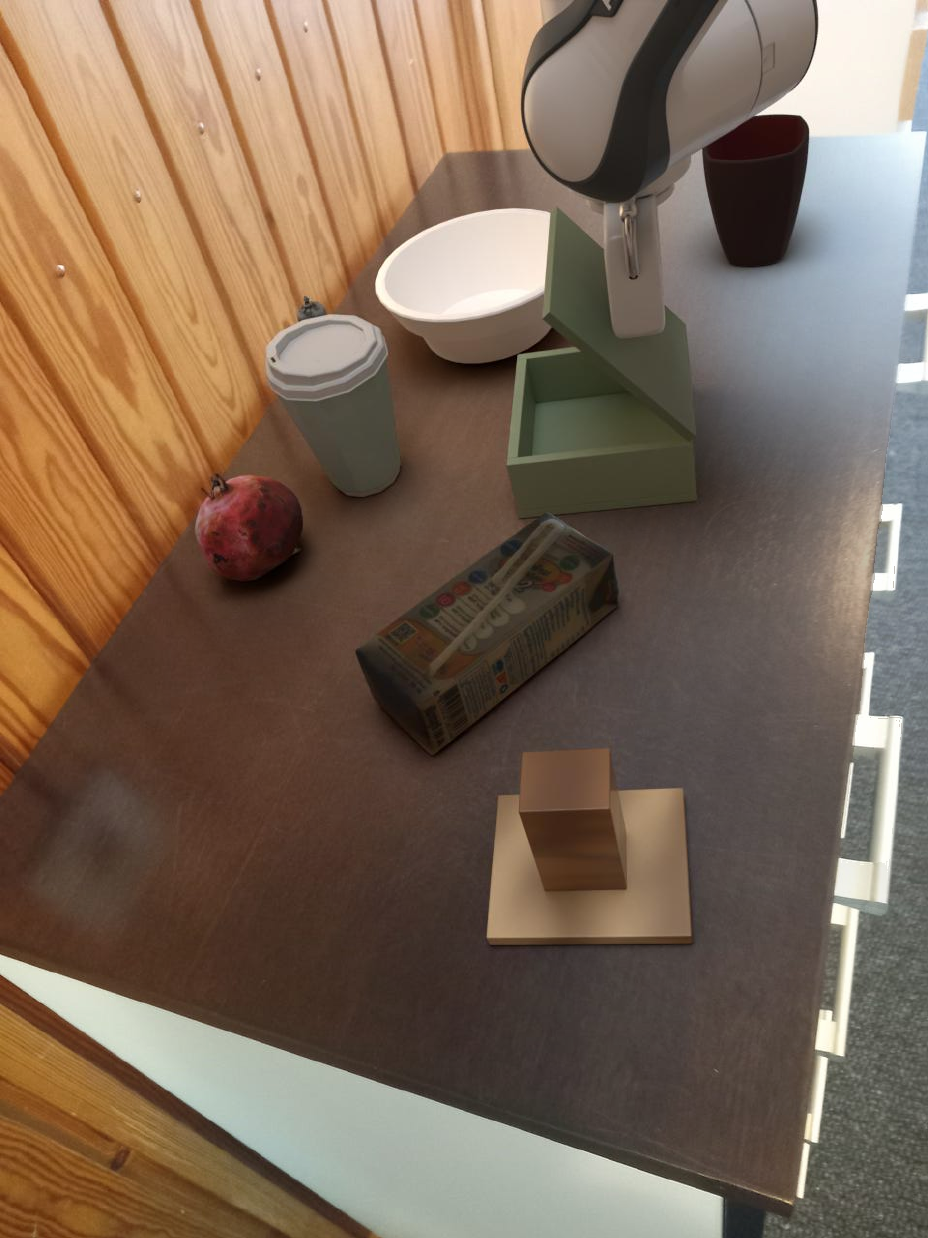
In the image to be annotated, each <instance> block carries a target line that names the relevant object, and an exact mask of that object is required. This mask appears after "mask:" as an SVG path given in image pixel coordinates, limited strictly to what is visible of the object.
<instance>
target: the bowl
mask: <svg viewBox="0 0 928 1238" xmlns="http://www.w3.org/2000/svg"><path fill="white" fill-rule="evenodd" d="M550 213H551V212H548V211H545V210H540V209H534V208H517V207H513V208H512V207H510V208H509V207H508V208H495V209H490V210H482V211H477V212H473V213H468V214H465V215H461V216H457V217H453V218H452V219H448V220H445V221H442V222H440V223H438V224H436V225H434V226H431V227H429V228H426V229H424V230H423V231H421V232H419V233H418V234H415V235H414V236H412V237H410V238H409V239H407V240H406V241H405V242H403V243H402V244H401V245H399V247H397V248H396V249H394V250H393V252H392V253H391V254H389V256H388V257H387V258H385V260H384V262H383V263H382V265H381V266H380V268H379V270H378V272H377V275H376V279H375V285H374V286H375V295H376V296H377V298H378V300H379V303H380V304H381V305H382V306H383V307H384V308H385V309H386V310H387V311H388V312H389V313H390V314H391V316H393V318H394V319H395V320H396V321H397V322H398V323H399V324H401V325H402V327H404V329H406V331H408V332H410V333H412V334H414V335H416V336H418V337H421V338H422V339H423V340H424V341H425V343H426V344H427V345H428V347H429V348H430V350H431V351H432V352H434V354H436V356H439V358H442V359H444V360H446V361H450V362H454V363H461V364H484V363H491V362H497V361H500V360H504V359H507V358H511V357H512V356H515V355H519V354H521V353H522V352H524V351H526V350H529V349H530V348H531V347H533V346H534V345H536V344H537V343H539V342H540V341H541V340H542V339H544V338H545V336H547V335H548V333H549V332H550V330H551V329H553V328H552V327H551V326H550V325H549V324H548V323H547V322H545V321H544V320H543V319H542V316H543V303H544V290H545V277H546V264H547V251H548V238H549V225H550Z"/></svg>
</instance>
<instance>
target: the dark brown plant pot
mask: <svg viewBox="0 0 928 1238" xmlns="http://www.w3.org/2000/svg"><path fill="white" fill-rule="evenodd" d="M809 144H810V127H809V124H808V121H806V120H805V118H804V117H803V116H802V115H800V114H786V113H785V114H783V113H779V114H778V113H777V114H775V113H773V114H757V115H755V116H754V117H752V118H750V119H749V120H747V121H745V122H744V123H742V124H740V125H739V126H738V127H736V128H735V129H734V130H732V131H730V132H729V133H727V134H725V135H724V136H722V137H721V138H719V139H717V140H716V141H714V142H712V143H711V144H709V145H707V146H706V147H704V148H702V149H701V153H702V154H701V155H702V166H703V175H704V182H705V187H706V192H707V197H708V202H709V206H710V210H711V211H710V212H711V214H712V215H711V216H712V218H713V222H714V226H715V230H716V232H717V233H716V234H717V236H718V239H719V242H720V245H721V248H722V250H723V253H724V255H725V258H726V260H727V261H728V263H729V264H730V265H732V266H738V267H759V266H766V265H771V264H776V263H779V262H780V261H781V260H782V259H783V258H784V256H785V255H786V253H787V250H788V247H789V244H790V242H791V238H792V235H793V232H794V229H795V226H796V222H797V217H798V214H799V208H800V205H801V201H802V196H803V195H802V194H803V190H804V185H805V179H806V174H807V166H808V161H809V149H810V148H809V147H810V145H809Z"/></svg>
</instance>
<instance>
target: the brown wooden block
mask: <svg viewBox="0 0 928 1238" xmlns="http://www.w3.org/2000/svg"><path fill="white" fill-rule="evenodd" d="M611 751H612V750H611V748H609V747H604V748H603V747H601V748H584V749H583V748H581V749H561V750H539V751H523V752H522V754H521V768H520V783H519V794H520V796H519V815H520V818H521V821H522V824H523V827H524V830H525V833H526V836H527V839H528V842H529V845H530V848H531V851H532V854H533V857H534V860H535V863H536V866H537V869H538V872H539V875H540V878H541V882H542V885H543V888H544V890H545V891H565V890H617V889H627V850H626V828H625V823H624V818H623V813H622V807H621V802H620V797H619V792H618V791H619V787H618V783H617V782H618V781H617V778H616V777H617V776H616V772H615V767H614V762H613V757H612V753H611Z"/></svg>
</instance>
